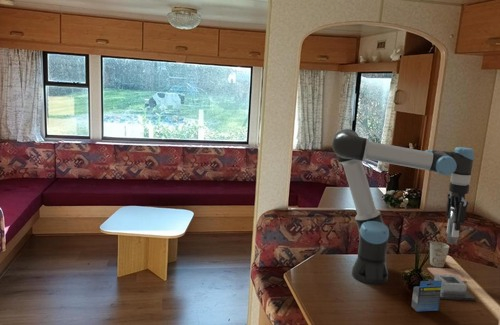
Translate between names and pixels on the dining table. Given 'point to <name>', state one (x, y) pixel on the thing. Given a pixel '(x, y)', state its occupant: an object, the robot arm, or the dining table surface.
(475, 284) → the dining table surface
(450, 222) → the key peg
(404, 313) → the dining table surface
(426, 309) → the label tape cartridge
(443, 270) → the rubber mat
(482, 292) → the dining table surface
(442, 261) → the mug
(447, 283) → the chuck block
